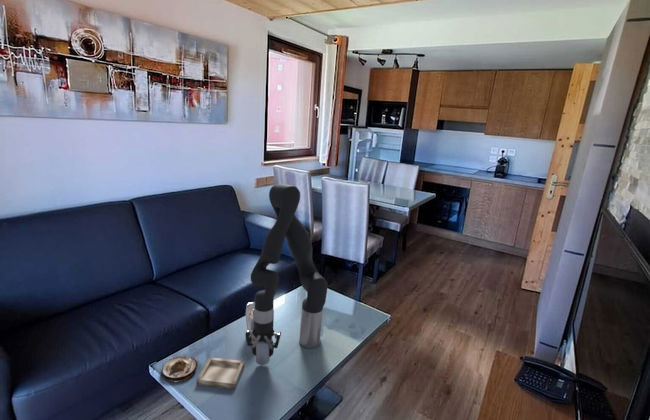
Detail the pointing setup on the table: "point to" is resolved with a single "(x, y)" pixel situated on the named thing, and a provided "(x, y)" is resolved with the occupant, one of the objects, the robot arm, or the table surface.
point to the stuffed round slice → (179, 368)
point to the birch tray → (220, 373)
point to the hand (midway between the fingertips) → (262, 354)
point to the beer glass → (250, 317)
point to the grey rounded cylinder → (262, 353)
